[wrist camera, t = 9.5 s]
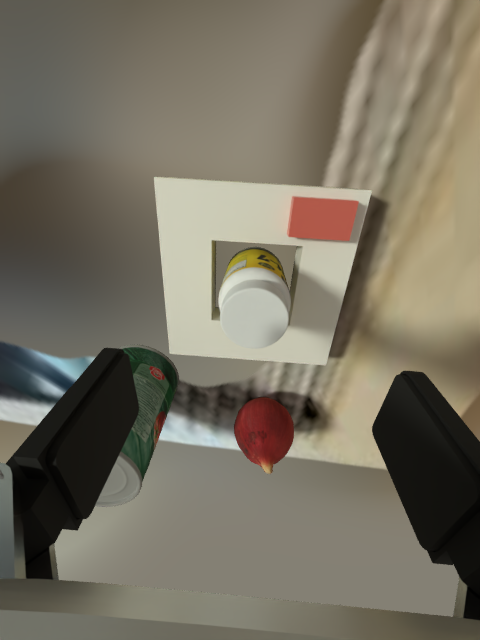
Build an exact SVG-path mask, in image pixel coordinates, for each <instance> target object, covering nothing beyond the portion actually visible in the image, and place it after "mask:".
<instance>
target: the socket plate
mask: <svg viewBox="0 0 480 640" xmlns="http://www.w3.org/2000/svg"><path fill="white" fill-rule="evenodd" d="M154 184H155V195H156V206H157V217H158V227H159V238H160V250H161V262H162V273H163V283H164V295H165V306H166V316H167V328H168V339H169V350H170V354H180V355H193V356H207V357H208V356H209V357H220V358H221V357H222V358H234V359H248V360H262V361H275V362H289V363H303V364H316V365H326V363H327V359H328V355H329V352H330V348H331V344H332V340H333V336H334V333H335V329H336V325H337V321H338V317H339V314H340V310H341V306H342V302H343V298H344V295H345V291H346V287H347V283H348V280H349V276H350V272H351V268H352V264H353V261H354V257H355V253H356V249H357V245H358V242H359V238H360V234H361V230H362V226H363V223H364V219H365V215H366V211H367V208H368V204H369V200H370V196H371V192H372V191H371V190H363V189H351V188H335V187H319V186H302V185H285V184H270V183H254V182H237V181H222V180H206V179H189V178H173V177H154ZM217 240H218V241H232V242H247V243H248V242H249V243H262V244H278V245H293V246H297V249H296V255H295V261H294V268H293V274H292V281H291V287H290V298H291V306H290V311H289V323H288V327H287V329H286V331H285V333H284V335H283V336H282V337H281V338H280V339H279V340H278V341H277V342H275V343H274V344H272V345H270V346H267V347H264V348H258V349H252V348H245V347H242V346H239V345H237V344H235V343H234V342H232V341H231V340H230V339H229V338H228V337H227V336H226V335H225V333H224V331H223V329H222V327H221V323H220V309H219V307H215V289H216V288H215V285H216V241H217Z"/></svg>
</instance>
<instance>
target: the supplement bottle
mask: <svg viewBox="0 0 480 640" xmlns="http://www.w3.org/2000/svg"><path fill="white" fill-rule="evenodd" d="M218 304H219V309H220V323H221V327H222V329H223V331H224V333H225V335H226V336H227V337H228V338H229V339H230V340H231V341H232V342H234V343H235V344H237V345H239V346H242V347H245V348H252V349H258V348H264V347H267V346H270V345H272V344H274V343H275V342H277V341H278V340H279V339H280V338H281V337H282V336H283V335H284V333H285V331H286V329H287V327H288V323H289V311H290V306H291V298H290V291H289V288H288V285H287V282H286V278H285V275H284V272H283V268H282V266H281V263H280V261H279V260H278V258H277V257H276V256H275V255H274V254H273V253H271V252H270V251H268V250H266V249H263V248H259V247H250V248H246V249H244V250H242V251H240V252H238V253H237V254H236V255H235V256H234V257H233V258H232V259H231V261H230V262H229V265H228V267H227V270H226V273H225V277H224V279H223V283H222V286H221V289H220V292H219V297H218Z"/></svg>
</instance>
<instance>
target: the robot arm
mask: <svg viewBox="0 0 480 640" xmlns="http://www.w3.org/2000/svg"><path fill="white" fill-rule="evenodd" d="M138 413H139V403H138V398H137V393H136V388H135V383H134V378H133V373H132V368H131V363H130V358H129V355H128V354H126V353H124V351H123V349H115V348H104V349H103V350H102V351H101V352H100V353H99V354H98V356H97V357H96V358H95V359H94V360H93V362H92V363H91V364H90V365H89V366H88V368H87V369H86V370H85V371H84V372H83V374H82V375H81V376H80V377H79V378H78V379H77V381H76V382H75V383H74V384H73V385H72V386H71V387H70V388H69V389H68V390H67V392H66V393H65V394H64V395H63V396H62V397H61V399H60V400H59V401H58V402H57V403H56V405H55V406H54V407H53V408H52V409H51V411H50V412H49V413H48V414H47V415H46V416H45V418H44V419H43V420H42V421H41V422H40V424H39V425H38V426H37V427H36V429H35V430H34V431H33V432H32V433H31V434H30V435H29V437H28V438H27V439H26V440H25V441H24V443H23V444H22V445H21V446H20V447H19V449H18V450H17V451H16V452H15V453H14V455H13V456H12V457H11V458H10V459H9V460H8V462H7V463H6V464H5V463H0V640H480V442H479V440H478V439H477V438H476V437H475V435H474V434H473V433H472V432H471V430H470V429H469V428H468V427H467V425H466V424H465V423H464V422H463V420H462V419H461V418H460V417H459V415H458V414H457V413H456V412H455V410H454V409H453V408H452V407H451V405H450V404H449V403H448V402H447V400H446V399H445V398H444V397H443V396H442V394H441V393H440V392H439V391H438V389H437V388H436V387H435V386H434V384H433V383H432V382H431V381H430V379H429V378H428V377H427V376H426V375H425V374H424V373H422V372H415V371H403V372H401V373H400V375H396V377H395V378H394V381H393V383H392V385H391V387H390V389H389V391H388V394H387V396H386V398H385V400H384V402H383V404H382V406H381V409H380V411H379V413H378V415H377V417H376V419H375V421H374V424H373V426H372V432H373V436H374V439H375V441H376V443H377V446H378V448H379V450H380V453H381V455H382V457H383V460H384V462H385V464H386V467H387V469H388V471H389V473H390V476H391V478H392V480H393V483H394V485H395V488H396V490H397V492H398V494H399V497H400V499H401V502H402V504H403V506H404V508H405V511H406V513H407V515H408V518H409V520H410V523H411V525H412V527H413V529H414V532H415V534H416V537H417V539H418V541H419V543H420V545H421V546H422V547H423V548H424V549H425V550H427V551H428V553H429V556H430V558H431V561H432V562H433V563H437V564H447V565H453V564H454V566H455V568H456V570H457V572H458V574H459V583H458V589H457V596H456V602H455V608H454V615H453V617H449V616H438V615H429V614H418V613H409V612H399V611H390V610H379V609H370V608H359V607H350V606H340V605H330V604H320V603H309V602H298V601H289V600H279V599H268V598H258V597H247V596H237V595H226V594H216V593H205V592H194V591H183V590H172V589H161V588H149V587H139V586H128V585H117V584H107V583H91V582H78V581H63V580H59V579H58V570H57V563H56V555H55V548H54V547H55V546H54V543H55V541H56V540H57V538H58V536H59V534H60V532H61V530H62V529H69V530H78V528H79V526H80V524H81V522H82V520H83V519H86V518H88V517H89V515H90V514H91V513H92V511H93V509H94V507H95V504H96V502H97V500H98V498H99V496H100V494H101V492H102V490H103V488H104V486H105V483H106V481H107V479H108V477H109V475H110V473H111V471H112V469H113V467H114V465H115V462H116V460H117V458H118V456H119V454H120V452H121V450H122V448H123V446H124V444H125V441H126V439H127V437H128V435H129V433H130V431H131V429H132V427H133V425H134V423H135V420H136V418H137V416H138Z"/></svg>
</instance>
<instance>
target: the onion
mask: <svg viewBox="0 0 480 640" xmlns="http://www.w3.org/2000/svg"><path fill="white" fill-rule="evenodd" d="M234 434H235V437H236V440H237V443H238V445H239V447H240V449H241V450H242V451H243V453H244V454H245V456H246V457H247V458H248V459H249V460H250V461H251V462H253V463H255V464H258V465H260V466H261V467H262V468H263V470H264V472H266V473H268V474H270V473H272V471H273V470H272V468H273V464H276V463H277V462H278V461H280V460H281V459H282V458H283V457H284V456H285V455H286V454H287V452H288V451H289V449H290V447H291V445H292V442H293V438H294V427H293V421H292V418H291V416H290V414H289V413H288V411H287V409H286V408H285V407H284V406H283V405H281V404H280V403H278V402H277V401H276V400H273V399H270V398H267V397H259V398H256V399H253V400H251V401H249V402H248V403H246V404H245V405H244V406H242V408H241V409H240V410H239V412H238V415H237V417H236V420H235V424H234Z"/></svg>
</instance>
